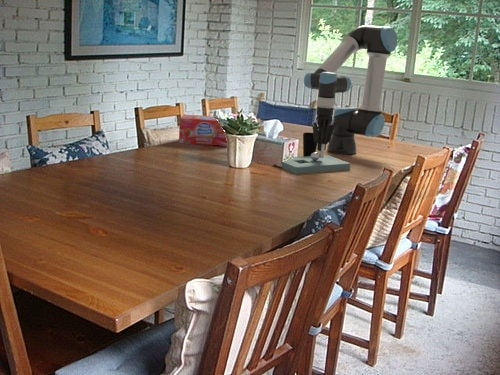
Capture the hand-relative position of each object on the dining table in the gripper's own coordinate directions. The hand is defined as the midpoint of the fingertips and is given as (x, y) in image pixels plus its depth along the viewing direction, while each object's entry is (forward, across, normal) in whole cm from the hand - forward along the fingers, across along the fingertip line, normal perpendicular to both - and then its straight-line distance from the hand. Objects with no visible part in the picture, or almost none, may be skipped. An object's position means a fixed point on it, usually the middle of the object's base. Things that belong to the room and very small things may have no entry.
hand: (320, 157), depth 297 cm
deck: (+4, +4, 0) cm, 6 cm away
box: (+5, +28, -62) cm, 69 cm away
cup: (+5, -6, -17) cm, 19 cm away
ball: (-1, +3, 0) cm, 3 cm away
